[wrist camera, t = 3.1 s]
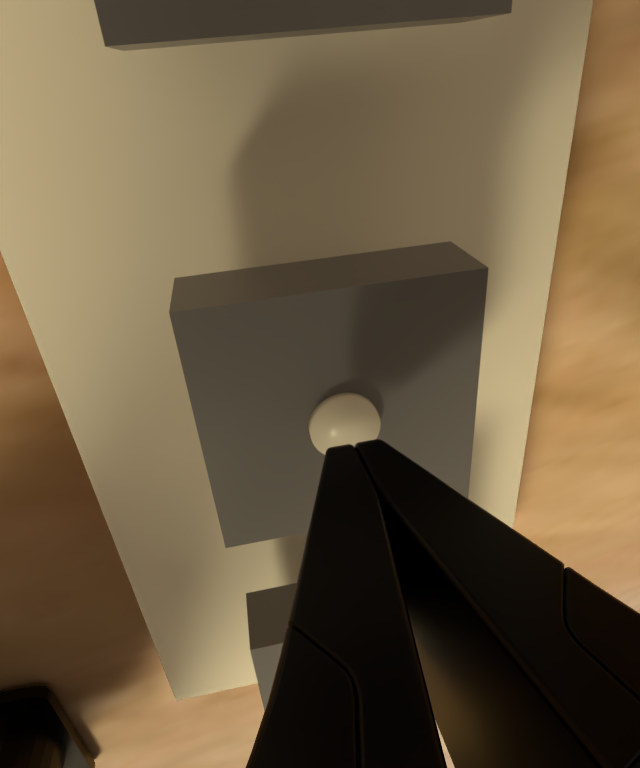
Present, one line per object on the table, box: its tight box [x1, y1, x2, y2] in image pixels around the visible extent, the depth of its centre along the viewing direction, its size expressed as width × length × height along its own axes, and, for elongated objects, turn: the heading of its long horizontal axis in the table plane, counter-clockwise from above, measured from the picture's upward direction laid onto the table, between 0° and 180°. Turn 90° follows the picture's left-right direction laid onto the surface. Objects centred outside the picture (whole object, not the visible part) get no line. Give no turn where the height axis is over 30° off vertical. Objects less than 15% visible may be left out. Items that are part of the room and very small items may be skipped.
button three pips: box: [246, 583, 435, 718], centre depth 14 cm, size 5×5×2 cm
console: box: [0, 0, 593, 701], centre depth 13 cm, size 24×11×3 cm, turn 4°
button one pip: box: [169, 241, 489, 548], centre depth 10 cm, size 5×5×2 cm
